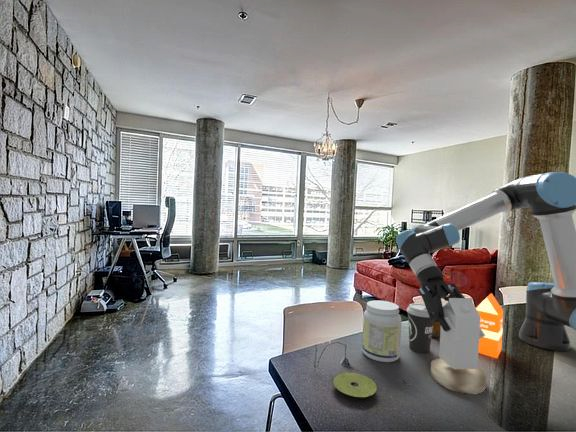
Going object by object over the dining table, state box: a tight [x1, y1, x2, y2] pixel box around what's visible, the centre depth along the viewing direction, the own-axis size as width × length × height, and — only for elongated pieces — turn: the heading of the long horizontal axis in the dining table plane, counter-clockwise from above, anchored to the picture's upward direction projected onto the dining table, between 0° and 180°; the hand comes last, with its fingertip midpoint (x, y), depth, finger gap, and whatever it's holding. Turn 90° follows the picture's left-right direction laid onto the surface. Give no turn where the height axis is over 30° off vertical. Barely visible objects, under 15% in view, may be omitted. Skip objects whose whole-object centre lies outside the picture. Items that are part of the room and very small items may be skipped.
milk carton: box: [438, 297, 480, 369], centre depth 88 cm, size 7×7×19 cm
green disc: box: [332, 372, 378, 398], centre depth 81 cm, size 11×11×2 cm
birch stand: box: [430, 357, 487, 395], centre depth 88 cm, size 14×14×3 cm
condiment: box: [431, 319, 441, 341], centre depth 120 cm, size 7×8×12 cm
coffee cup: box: [406, 302, 434, 354], centre depth 108 cm, size 10×10×15 cm
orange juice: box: [475, 292, 504, 359], centre depth 108 cm, size 8×9×20 cm
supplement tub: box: [362, 299, 402, 363], centre depth 102 cm, size 12×12×17 cm
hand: (469, 339), depth 85 cm, fingers closed on milk carton, 9 cm apart
